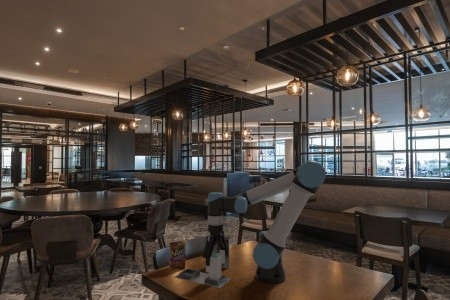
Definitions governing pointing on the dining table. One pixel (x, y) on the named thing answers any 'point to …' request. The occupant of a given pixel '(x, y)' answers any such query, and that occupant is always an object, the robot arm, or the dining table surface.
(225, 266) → the coffee box
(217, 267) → the white rectangular bottle
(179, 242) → the candy box
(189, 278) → the panel
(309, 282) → the dining table surface
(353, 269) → the dining table surface
